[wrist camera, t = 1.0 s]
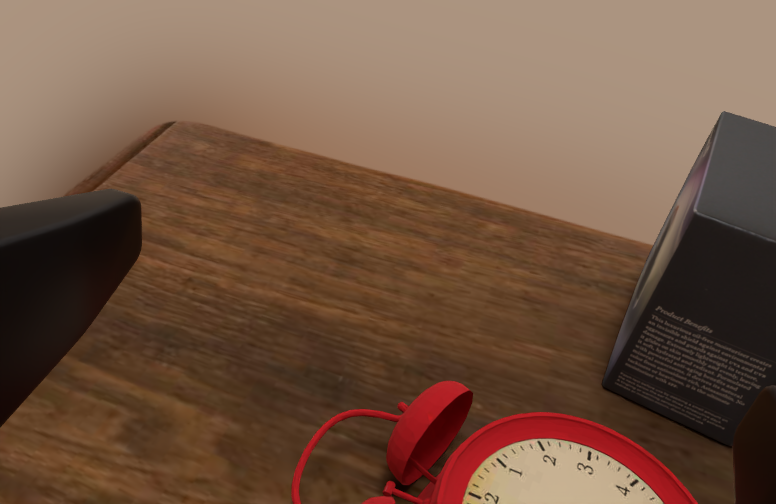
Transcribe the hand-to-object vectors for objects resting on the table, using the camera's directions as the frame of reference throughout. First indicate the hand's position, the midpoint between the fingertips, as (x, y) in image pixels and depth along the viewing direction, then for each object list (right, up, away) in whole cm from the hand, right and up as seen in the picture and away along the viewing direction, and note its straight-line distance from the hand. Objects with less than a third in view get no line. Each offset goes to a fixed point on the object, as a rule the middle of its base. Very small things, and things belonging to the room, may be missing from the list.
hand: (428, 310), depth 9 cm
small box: (+14, -4, +24) cm, 29 cm away
